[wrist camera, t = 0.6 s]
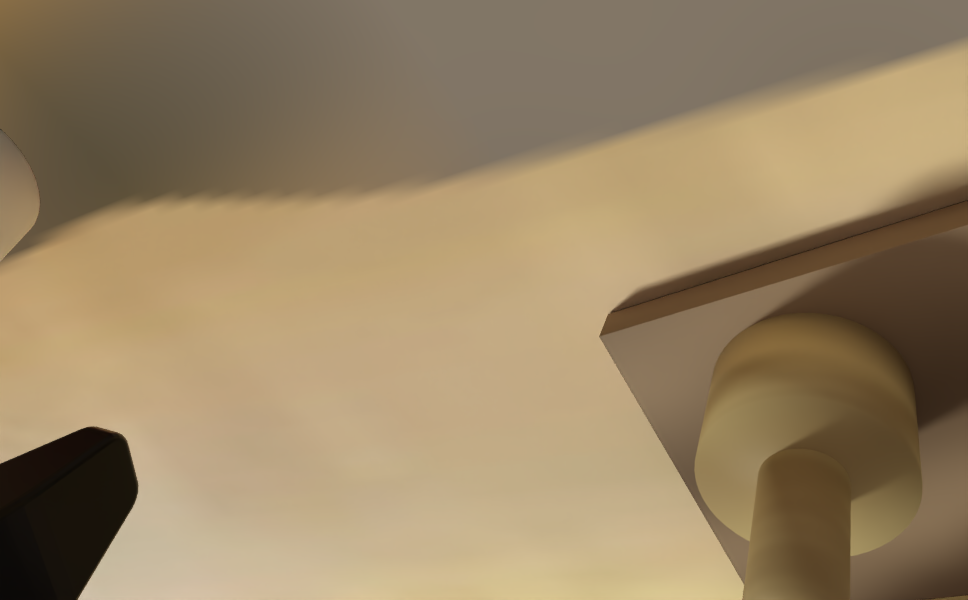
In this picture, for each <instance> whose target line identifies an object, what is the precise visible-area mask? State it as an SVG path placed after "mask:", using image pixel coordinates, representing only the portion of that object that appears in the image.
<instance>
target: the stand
mask: <svg viewBox="0 0 968 600" xmlns="http://www.w3.org/2000/svg"><path fill="white" fill-rule="evenodd" d="M599 337H600V339H601V340H602V342H603V344H604V345H605V347H606V349H607V351H608V352H609V354H610V356H611V357H612V359H613V361H614V363H615V364H616V366H617V368H618V369H619V371H620V373H621V374H622V376H623V378H624V380H625V381H626V383H627V385H628V386H629V388H630V390H631V392H632V393H633V395H634V397H635V398H636V400H637V402H638V404H639V405H640V407H641V409H642V410H643V412H644V414H645V416H646V417H647V419H648V421H649V422H650V424H651V426H652V428H653V429H654V431H655V433H656V434H657V436H658V438H659V440H660V441H661V443H662V445H663V446H664V448H665V450H666V451H667V453H668V455H669V457H670V458H671V460H672V462H673V463H674V465H675V467H676V469H677V470H678V472H679V474H680V475H681V477H682V479H683V481H684V482H685V484H686V486H687V487H688V489H689V491H690V493H691V494H692V496H693V498H694V499H695V501H696V503H697V505H698V506H699V508H700V510H701V511H702V513H703V515H704V517H705V518H706V520H707V522H708V523H709V525H710V527H711V529H712V530H713V532H714V534H715V535H716V537H717V539H718V540H719V542H720V544H721V546H722V547H723V549H724V551H725V552H726V554H727V556H728V558H729V559H730V561H731V563H732V564H733V566H734V568H735V570H736V571H737V573H738V575H739V576H740V578H741V580H742V582H743V583H744V591H743V599H742V600H926V599H935V598H945V597H954V596H964V595H968V201H965V202H961V203H958V204H955V205H952V206H949V207H946V208H943V209H939V210H936V211H933V212H930V213H927V214H924V215H920V216H917V217H914V218H911V219H908V220H905V221H901V222H898V223H895V224H892V225H889V226H886V227H882V228H879V229H876V230H873V231H870V232H867V233H863V234H860V235H857V236H854V237H851V238H848V239H844V240H841V241H838V242H835V243H832V244H829V245H825V246H822V247H819V248H816V249H813V250H810V251H807V252H803V253H800V254H797V255H794V256H791V257H788V258H784V259H781V260H778V261H775V262H772V263H769V264H765V265H762V266H759V267H756V268H753V269H750V270H746V271H743V272H740V273H737V274H734V275H731V276H727V277H724V278H721V279H718V280H715V281H712V282H708V283H705V284H702V285H699V286H696V287H693V288H689V289H686V290H683V291H680V292H677V293H674V294H670V295H667V296H664V297H661V298H658V299H655V300H652V301H648V302H645V303H642V304H639V305H636V306H633V307H629V308H626V309H623V310H620V311H617V312H614V313H610V314H608V316H607V318H606V321H605V323H604V326H603V329H602V331H601V334H600V336H599Z"/></svg>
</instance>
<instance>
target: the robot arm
mask: <svg viewBox="0 0 968 600" xmlns="http://www.w3.org/2000/svg"><path fill="white" fill-rule="evenodd" d="M137 494H138V481H137V477H136V473H135V469H134V465H133V461H132V457H131V453H130V450H129V446H128V443H127V440H126V438H125V437H124V436H123V435H122V434H120V433H117V432H114V431H110V430H107V429H103V428H100V427H86V428H83V429H80V430H78V431H76V432H73V433H71V434H69V435H66V436H64V437H62V438H59V439H57V440H55V441H52V442H50V443H48V444H45V445H43V446H41V447H38V448H36V449H34V450H31V451H29V452H27V453H24V454H22V455H20V456H17V457H15V458H13V459H10V460H8V461H6V462H3V463H1V464H0V600H78V598H79V596H80V595H81V593H82V591H83V590H84V588H85V586H86V585H87V583H88V581H89V579H90V578H91V576H92V574H93V573H94V571H95V569H96V568H97V566H98V564H99V563H100V561H101V559H102V558H103V556H104V554H105V553H106V551H107V549H108V548H109V546H110V544H111V543H112V541H113V539H114V538H115V536H116V534H117V533H118V531H119V529H120V528H121V526H122V524H123V523H124V521H125V519H126V518H127V516H128V514H129V513H130V511H131V509H132V507H133V505H134V503H135V501H136V498H137Z"/></svg>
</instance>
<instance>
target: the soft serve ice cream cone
mask: <svg viewBox="0 0 968 600" xmlns="http://www.w3.org/2000/svg"><path fill="white" fill-rule="evenodd" d="M39 209H40V195H39V189H38V185H37V182H36V178H35V176H34V174H33V171H32V169H31V167H30V165H29V163H28V162H27V160H26V158H25V157H24V155H23V154H22V152H21V151H20V150H19V149H18V147H17V146H16V145H15V143H14V142H13V141H12V140H11V139H10V138H9V137H8V136H7V135H6V134H5V133H4V132H3V131H2V130H1V129H0V261H1V260H2V259H3V258H4V257H5V256H6V254H8V252H9V251H10V250H11V249H12V248H13V247H14V246H15V245H16V244H17V243H18V242H19V241H20V240H21V239H22V237H23V236H24V235H25V234H26V233H27V232H28V231H29V230H30V229H31V228H32V226H33V225H34V224H35V222H36V219H37V217H38V214H39Z"/></svg>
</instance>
